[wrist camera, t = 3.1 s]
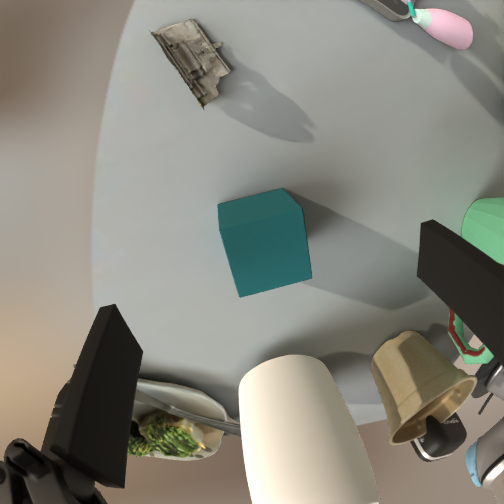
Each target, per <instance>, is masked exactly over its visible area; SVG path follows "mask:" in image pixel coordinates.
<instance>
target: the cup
mask: <svg viewBox="0 0 504 504" xmlns="http://www.w3.org/2000/svg"><path fill="white" fill-rule="evenodd" d="M239 410H240V425H241V435H242V445H243V453H244V460H245V468H246V475H247V480H248V485H249V489H250V494H251V498H252V503H253V504H379V502H380V500H381V498H380V494H379V491H378V487H377V483H376V479H375V476H374V472H373V469H372V466H371V463H370V460H369V457H368V455H367V452H366V449H365V446H364V443H363V441H362V439H361V437H360V434H359V432H358V429H357V427H356V425H355V422H354V420H353V418H352V416H351V414H350V412H349V409H348V407H347V405H346V403H345V401H344V399H343V397H342V395H341V393H340V391H339V389H338V387H337V385H336V383H335V381H334V379H333V377H332V376H331V374H330V372H329V370H328V368H327V367H326V365H325V364H324V363H322V362H321V361H320V360H318V359H316V358H314V357H311V356H305V355H286V356H282V357H277V358H274V359H271V360H269V361H266V362H263V363H262V364H260V365H258V366H256V367H254V368H253V369H252V370H250V371H249V372H248V373H247V374H245V375H244V377H243V379H242V380H241V382H240V386H239Z"/></svg>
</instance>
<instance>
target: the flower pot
mask: <svg viewBox="0 0 504 504" xmlns="http://www.w3.org/2000/svg"><path fill="white" fill-rule="evenodd" d="M371 373H372V375H373V377H374V380H375V382H376V385H377V388H378V390H379V393H380V396H381V399H382V402H383V405H384V408H385V411H386V414H387V417H388V420H389V421H388V429H389V432H390V435H389V438H388V441H389V443H390V444H391V445H400V444H404V443H407V442H409V441H412V440H414V439H417V438H419V437H421V436H423V435H424V434H426V433H427V430H426V421H425V420H426V417H427V416H428V415H432V416H433V417H435V418H436V419H437V420H438V421H439V422H440V423H443V422H444V421H445V420H447V419H448V418H449V417H450V416H451V415H452V414H453V413H455V412H456V411H457V410H458V409H459V407H461V406H462V405H463V404H464V402H465V401H466V400H467V399H468V398H469V396H470V395H471V393H472V392H473V390H474V388H475V387H476V384H477V378H476V377H475V376H473V375H468V374H466V373H465V372H464V371H463V370H462V369H457V368H456V367H455V366H454V365H453V364H452V363H451V362H450V361H449V360H448V359H447V358H445V357H444V356H443V355H442V354H441V353H440V352H439V351H438V350H437V349H436V348H434V347H433V346H432V345H431V344H430V343H429V342H428V341H427V340H426V339H425V338H423V337H422V336H421V335H420V334H419V333H418V332H416V331H405V332H402V333H401V334H400V335H399V336H398V337H396V338H394V339H390V340H388V341H387V342H385V343H384V344H383V345H382V346H381V347H380V348H379V349H378V350H377V352H376V353H375V354H374V356H373V358H372V360H371Z"/></svg>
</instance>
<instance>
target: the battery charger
mask: <svg viewBox="0 0 504 504" xmlns="http://www.w3.org/2000/svg"><path fill="white" fill-rule="evenodd" d="M425 421H426V430H427V433H426V434H424V435H423V436H421V437H419V438H417V439H414V440H412V441H410V442H411V444H412V446H413V448H414V450H415V452H416V453H417V455H418V456H419V458H421V459H422V460H423V461H426V462H431V461H435V460H439V459H442V458H445V457H447V456H449V455H451V454H452V453H453V452H454V451H455V450H456V449H457V448H458V447H459V446H460V445H462V444H463V443H464V441H465V439H466V436H467V435H466V434H467V433H466V430H465V428H464V426H463V424H462V422H461V420H460V418H459V417H458V415H457V414H456V412H455V413H453V414H452V415H451V416H450V417H449V418H448V419H447V420H445V421H444V422H443V423H440V422H439V421H438V420H437V419H436V418H435V417H433V416H432V415H428V416H427V417H426V420H425Z"/></svg>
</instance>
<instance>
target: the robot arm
mask: <svg viewBox="0 0 504 504" xmlns="http://www.w3.org/2000/svg"><path fill="white" fill-rule="evenodd" d="M417 277H419V278H420V279H421V280H422V281H423V282H424V283H425V284H426V285H427V286H428V287H429V288H430V289H431V290H432V291H433V292H434V293H435V294H436V295H437V296H438V297H439V298H440V299H441V300H442V301H443V302H444V303H445V304H446V305H447V306H448V307H449V308H450V309H451V310H452V311H453V312H454V313H455V314H456V315H457V316H458V317H459V318H460V319H461V320H462V321H463V322H464V323H465V324H466V325H467V326H468V327H469V329H470V330H471V331H472V332H473V333H474V334H475V335H476V336H477V337H478V338H479V339H480V341H481V342H482V343H483V344H484V345H485V346H486V347H487V348H488V350H489V351H490V352H491V353H492V354H493V355H494V357H495V358H496V359H497V360H498V361H499V363H498V364H497V365H496V366H495V368H494V369H493V371H492V372H491V373H490V375H489V377H488V378H487V380H486V382H485V387H486V389H487V390H488V391H489V392H490V393H491V394H490V395H489V397H488V398H487V400H486V401H485V403H484V405H483V406H482V408H481V410H480V411H479V413H478V414H479V415H480V414H481V413H482V411H483V410H484V408H485V406H486V405H487V403H488V402H489V400H490V398H491V397H492V396H493V394H495V395H496V396H498V397H499V398H500V399H502V400H504V265H503V264H500V263H498V262H496V261H495V260H494V259H492V258H491V257H489V256H488V255H487V254H485V253H484V252H482V251H481V250H480V249H478V248H477V247H475V246H474V245H472V244H471V243H469V242H468V241H466V240H465V239H463V238H462V237H460V236H459V235H457V234H456V233H454V232H453V231H451V230H449V229H448V228H446V227H445V226H443V225H441V224H440V223H438V222H437V221H435V220H429V221H426V222H423V223H421V230H420V247H419V260H418V270H417ZM142 355H143V350H142V349H141V347H140V345H139V344H138V342H137V341H136V339H135V337H134V336H133V334H132V332H131V331H130V329H129V327H128V326H127V324H126V322H125V320H124V319H123V317H122V315H121V313H120V312H119V310H118V308H117V306H116V304H112V305H108V306H104V307H100V309H99V311H98V313H97V316H96V318H95V320H94V322H93V325H92V327H91V329H90V332H89V334H88V336H87V339H86V341H85V344H84V346H83V349H82V351H81V354H80V356H79V359H78V361H77V364H76V367H75V369H74V372H73V375H72V377H71V380H70V383H66V384H65V385H64V387H63V388H62V390H61V391H60V392H59V394H58V397H57V399H56V402H55V405H54V406H55V408H53V412H52V414H51V416H52V418H50V421H49V424H48V427H47V431H46V434H45V438H44V441H43V445H42V449H41V452H40V451H39V450H37V449H36V448H35V447H33V446H32V445H31V444H29V443H28V442H27V441H26V440H24V439H19V438H17V439H15V440H13V441H12V442H11V443H10V444H9V445H8V447H7V449H6V451H5V455H4V462H3V461H0V504H107V502H106V501H105V499H104V498H103V496H102V495H101V493H100V492H99V491H98V490H97V488H95V487H94V485H95V481H97V482H98V483H100V484H102V485H104V486H106V487H114V488H124V487H125V474H126V463H127V453H128V444H129V436H130V428H131V420H132V413H133V407H134V400H135V394H136V388H137V382H138V376H139V371H140V365H141V360H142ZM466 463H467V467H468V471H469V474H470V475H471V479H472V481H473V482H474V484H475V485H476V486H477V487H480V486H483V487H484V489H492V491H493V494H494V496H495V499H496V501H497V504H504V417H503V418H502V419H501V420H500V421H499V422H498V423H497V424H496V425H494V426H493V427H492V428H491V429H490V430H489V431H488V432H487V433H485V434H484V435H483V436H482V437H480V438H478V440H477V441H476V442H475V443H474V444H473V445H471V446H470V447H469V449H468V450H467V452H466Z"/></svg>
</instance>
